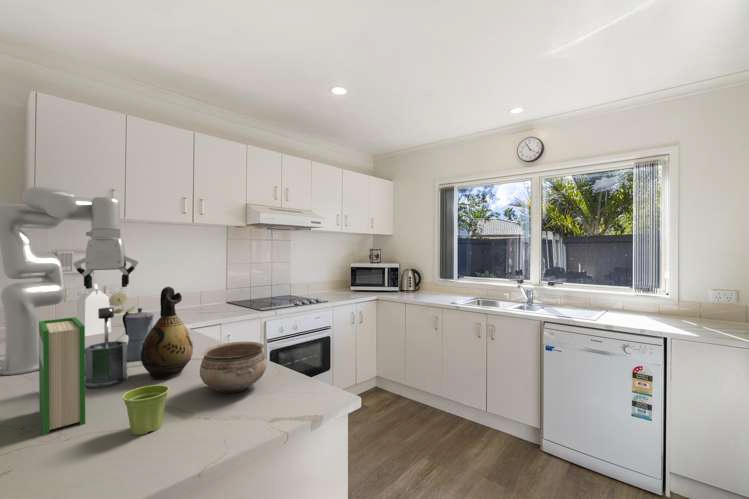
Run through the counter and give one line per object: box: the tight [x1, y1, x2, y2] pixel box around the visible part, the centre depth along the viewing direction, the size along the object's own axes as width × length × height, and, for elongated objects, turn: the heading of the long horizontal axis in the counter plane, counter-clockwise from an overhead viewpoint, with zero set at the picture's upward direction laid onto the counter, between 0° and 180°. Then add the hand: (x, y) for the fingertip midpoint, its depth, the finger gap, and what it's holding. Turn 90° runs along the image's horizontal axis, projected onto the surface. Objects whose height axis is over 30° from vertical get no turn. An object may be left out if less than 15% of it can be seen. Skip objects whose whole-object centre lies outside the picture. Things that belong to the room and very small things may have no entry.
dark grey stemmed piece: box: [98, 306, 115, 348], centre depth 114 cm, size 7×7×14 cm
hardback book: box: [38, 316, 86, 436], centre depth 89 cm, size 18×7×24 cm, turn 46°
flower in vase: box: [109, 290, 135, 344], centre depth 160 cm, size 13×11×25 cm
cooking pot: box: [199, 341, 268, 394], centre depth 107 cm, size 25×19×12 cm
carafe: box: [85, 340, 128, 390], centre depth 113 cm, size 14×11×12 cm
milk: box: [76, 283, 112, 337], centre depth 186 cm, size 12×12×26 cm
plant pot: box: [121, 384, 170, 435], centre depth 83 cm, size 9×9×9 cm
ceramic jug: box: [140, 286, 194, 381], centre depth 121 cm, size 17×15×30 cm
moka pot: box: [122, 307, 155, 362], centre depth 140 cm, size 10×15×20 cm, turn 78°
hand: (107, 287), depth 114 cm, fingers open, 9 cm apart
